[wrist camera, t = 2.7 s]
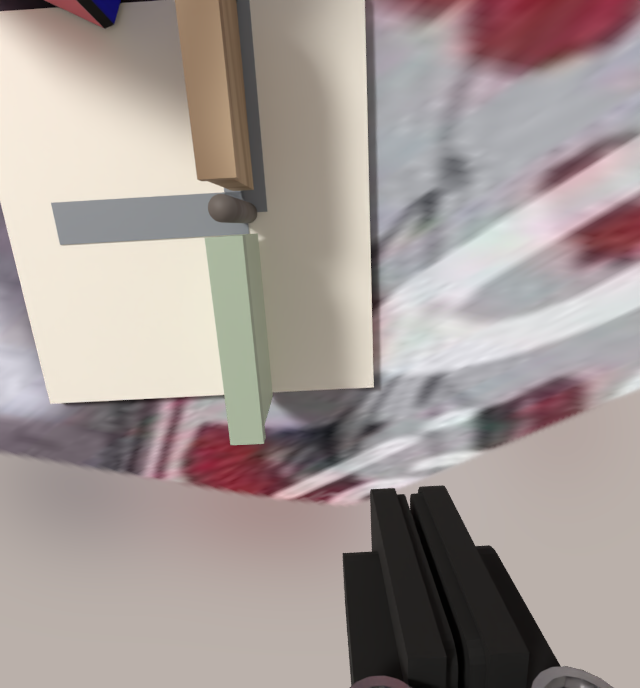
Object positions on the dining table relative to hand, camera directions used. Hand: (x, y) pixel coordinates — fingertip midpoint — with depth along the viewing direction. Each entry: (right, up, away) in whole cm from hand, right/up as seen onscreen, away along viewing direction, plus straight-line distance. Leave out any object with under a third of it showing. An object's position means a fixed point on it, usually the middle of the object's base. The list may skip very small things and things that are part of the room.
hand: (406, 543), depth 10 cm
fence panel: (-5, +6, +12) cm, 14 cm away
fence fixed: (-6, +15, +10) cm, 19 cm away
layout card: (-8, +11, +12) cm, 18 cm away
